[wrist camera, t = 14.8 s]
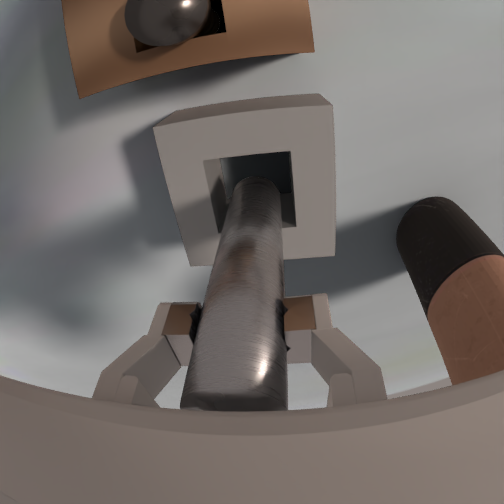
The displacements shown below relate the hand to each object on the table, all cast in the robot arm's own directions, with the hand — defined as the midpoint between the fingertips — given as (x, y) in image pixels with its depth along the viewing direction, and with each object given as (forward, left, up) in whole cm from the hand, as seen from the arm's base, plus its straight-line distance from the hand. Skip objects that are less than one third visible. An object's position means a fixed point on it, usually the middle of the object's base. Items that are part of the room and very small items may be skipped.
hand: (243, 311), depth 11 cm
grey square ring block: (0, 0, -14) cm, 14 cm away
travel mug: (+7, +15, -14) cm, 22 cm away
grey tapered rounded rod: (0, 0, -10) cm, 10 cm away
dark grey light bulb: (-11, -2, -13) cm, 18 cm away
